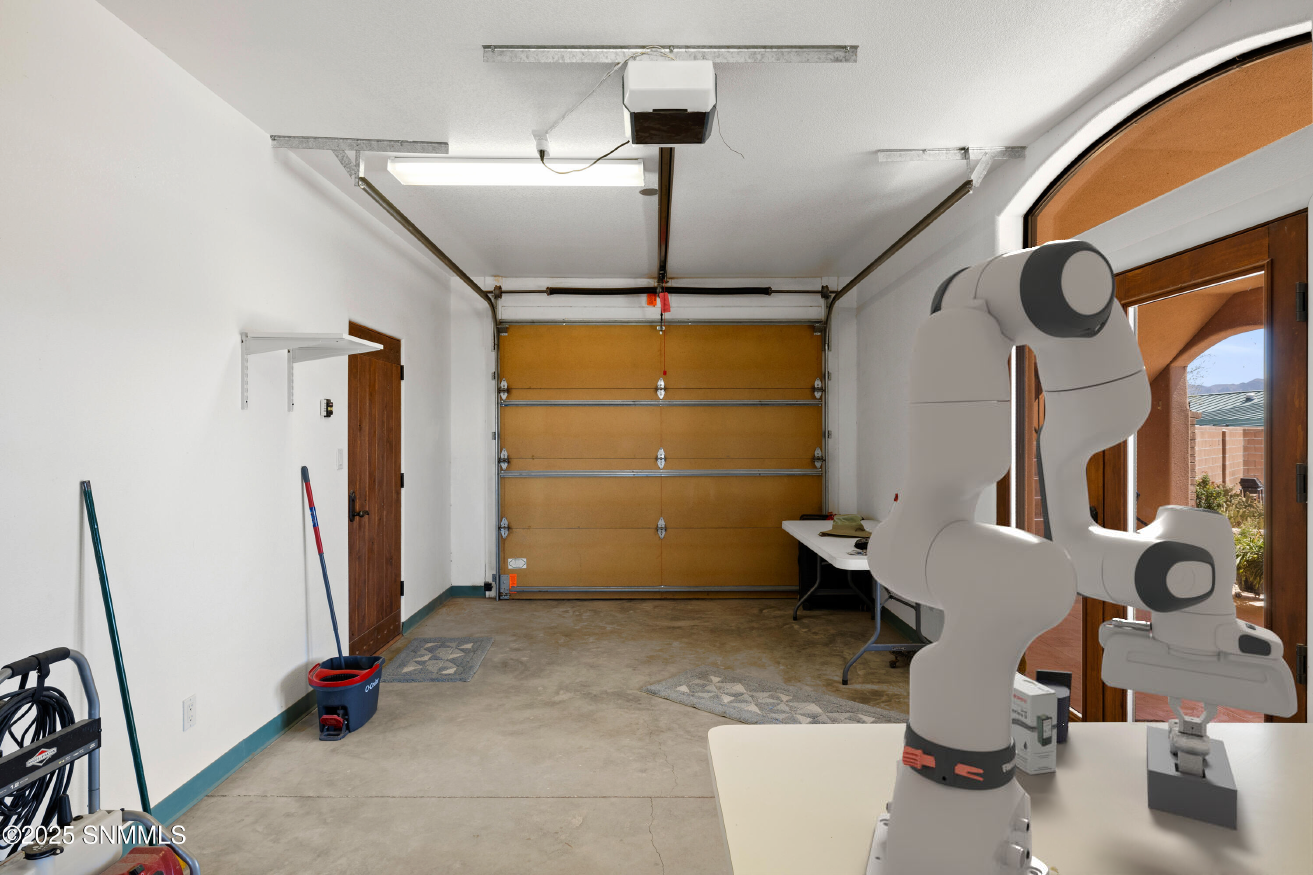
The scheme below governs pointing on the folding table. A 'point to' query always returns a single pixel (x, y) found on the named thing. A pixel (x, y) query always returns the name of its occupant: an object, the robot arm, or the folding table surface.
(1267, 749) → the folding table surface
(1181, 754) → the near knob
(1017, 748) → the ink box
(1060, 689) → the speaker
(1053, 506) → the robot arm
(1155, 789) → the control panel
